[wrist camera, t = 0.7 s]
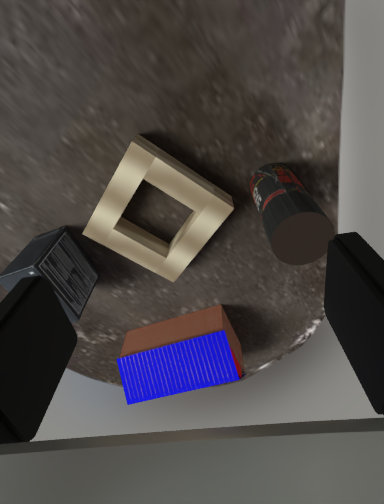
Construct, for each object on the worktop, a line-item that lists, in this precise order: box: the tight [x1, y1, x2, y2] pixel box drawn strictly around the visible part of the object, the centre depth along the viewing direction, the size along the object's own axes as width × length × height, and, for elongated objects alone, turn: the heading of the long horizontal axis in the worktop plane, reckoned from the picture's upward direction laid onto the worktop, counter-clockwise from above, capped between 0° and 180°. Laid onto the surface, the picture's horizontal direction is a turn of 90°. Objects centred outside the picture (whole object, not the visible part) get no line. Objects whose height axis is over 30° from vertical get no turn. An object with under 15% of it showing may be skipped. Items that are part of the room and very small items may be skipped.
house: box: [117, 305, 246, 405], centre depth 54 cm, size 12×20×12 cm, turn 113°
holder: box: [82, 134, 234, 282], centre depth 42 cm, size 15×15×4 cm
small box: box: [0, 226, 100, 323], centre depth 45 cm, size 11×6×10 cm, turn 22°
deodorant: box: [250, 163, 335, 265], centre depth 35 cm, size 6×6×15 cm
